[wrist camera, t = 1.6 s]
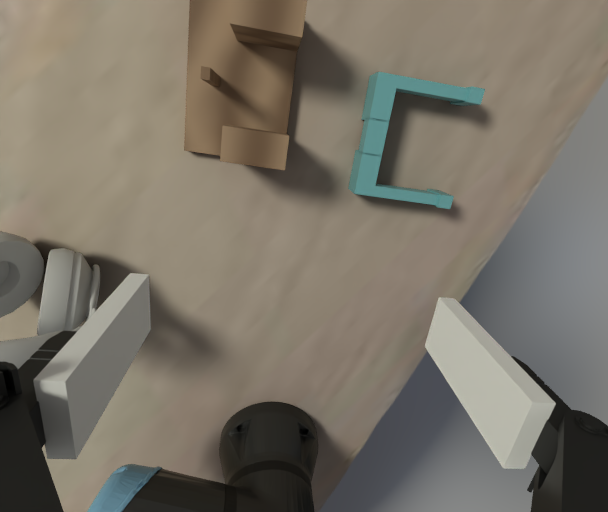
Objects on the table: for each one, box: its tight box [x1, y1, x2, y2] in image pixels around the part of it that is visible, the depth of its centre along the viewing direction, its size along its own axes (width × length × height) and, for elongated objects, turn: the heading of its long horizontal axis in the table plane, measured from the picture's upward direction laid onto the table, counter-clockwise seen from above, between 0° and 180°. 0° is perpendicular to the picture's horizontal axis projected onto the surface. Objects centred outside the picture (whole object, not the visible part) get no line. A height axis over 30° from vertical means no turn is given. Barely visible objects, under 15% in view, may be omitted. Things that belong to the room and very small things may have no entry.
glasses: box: [348, 72, 485, 209], centre depth 41 cm, size 12×13×4 cm
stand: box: [184, 0, 307, 170], centre depth 36 cm, size 11×15×8 cm
